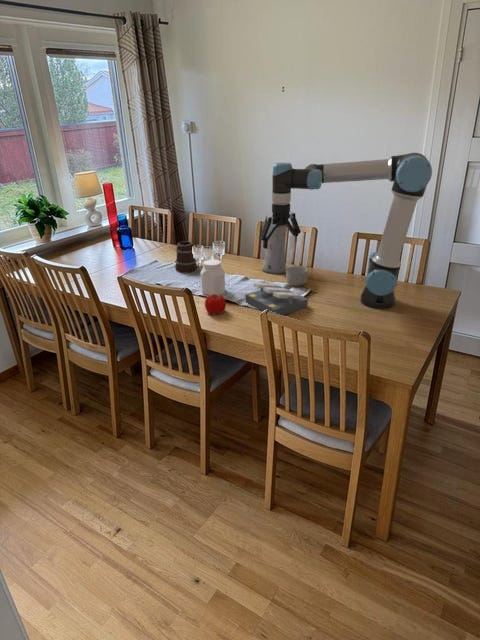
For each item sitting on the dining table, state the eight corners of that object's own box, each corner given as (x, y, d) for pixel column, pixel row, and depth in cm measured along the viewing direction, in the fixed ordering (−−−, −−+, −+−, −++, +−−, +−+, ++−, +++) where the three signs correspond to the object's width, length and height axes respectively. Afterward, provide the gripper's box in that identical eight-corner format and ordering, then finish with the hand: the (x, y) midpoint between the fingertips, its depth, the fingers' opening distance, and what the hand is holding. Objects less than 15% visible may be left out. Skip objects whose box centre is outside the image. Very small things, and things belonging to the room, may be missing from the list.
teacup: (306, 288, 216) (307, 273, 212) (284, 287, 218) (284, 272, 214) (308, 278, 228) (308, 264, 224) (287, 277, 230) (287, 263, 226)
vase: (259, 274, 236) (260, 222, 223) (266, 265, 248) (266, 216, 235) (283, 276, 233) (285, 224, 220) (288, 267, 244) (290, 217, 231)
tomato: (201, 312, 194) (200, 296, 190) (216, 306, 199) (216, 290, 196) (215, 318, 188) (215, 302, 184) (230, 312, 193) (230, 296, 190)
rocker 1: (278, 288, 204) (279, 285, 203) (258, 288, 196) (259, 284, 196) (273, 286, 207) (274, 283, 206) (253, 285, 199) (254, 282, 199)
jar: (228, 290, 216) (227, 260, 209) (219, 297, 208) (217, 267, 202) (208, 286, 221) (206, 257, 214) (198, 293, 213) (196, 263, 206)
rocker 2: (288, 293, 198) (289, 290, 198) (268, 293, 191) (269, 289, 191) (282, 290, 201) (283, 287, 201) (262, 290, 194) (263, 286, 194)
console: (307, 307, 196) (308, 291, 193) (274, 318, 187) (274, 302, 183) (277, 292, 212) (277, 278, 208) (245, 302, 202) (245, 287, 199)
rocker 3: (299, 298, 193) (299, 295, 193) (278, 298, 186) (279, 294, 185) (293, 295, 196) (293, 292, 196) (272, 295, 189) (273, 291, 188)
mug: (189, 274, 238) (187, 247, 231) (171, 270, 243) (169, 244, 236) (205, 265, 250) (203, 239, 243) (187, 262, 255) (185, 237, 248)
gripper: (299, 197, 189) (296, 245, 198) (250, 205, 177) (250, 255, 186) (310, 200, 183) (307, 250, 193) (261, 208, 171) (261, 260, 181)
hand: (279, 252), depth 190 cm, fingers open, 13 cm apart
